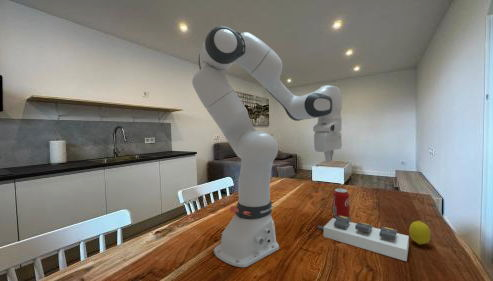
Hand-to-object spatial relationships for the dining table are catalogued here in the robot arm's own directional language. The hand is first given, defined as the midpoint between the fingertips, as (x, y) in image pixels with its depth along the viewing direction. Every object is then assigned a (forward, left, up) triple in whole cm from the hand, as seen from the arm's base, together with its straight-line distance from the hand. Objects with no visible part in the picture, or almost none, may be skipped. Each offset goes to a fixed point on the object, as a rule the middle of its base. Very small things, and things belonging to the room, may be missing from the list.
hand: (328, 161), depth 86 cm
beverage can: (+9, -2, -26) cm, 27 cm away
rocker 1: (-7, -7, -21) cm, 23 cm away
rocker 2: (-7, -14, -21) cm, 26 cm away
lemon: (+1, -29, -26) cm, 39 cm away
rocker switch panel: (-7, -12, -26) cm, 29 cm away
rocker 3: (-7, -21, -21) cm, 30 cm away
